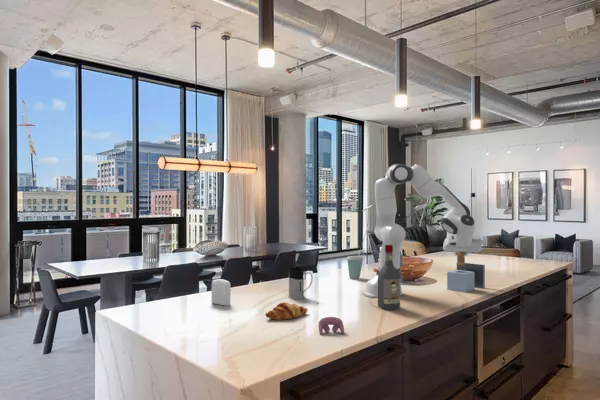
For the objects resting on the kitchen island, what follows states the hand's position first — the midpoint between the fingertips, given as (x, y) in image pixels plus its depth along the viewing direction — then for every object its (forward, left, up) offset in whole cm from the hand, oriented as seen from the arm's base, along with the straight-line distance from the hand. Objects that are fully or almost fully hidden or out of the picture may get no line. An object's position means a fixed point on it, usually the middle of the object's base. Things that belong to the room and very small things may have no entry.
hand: (460, 254), depth 247 cm
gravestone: (-135, +4, -21) cm, 137 cm away
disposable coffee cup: (-43, +51, -21) cm, 70 cm away
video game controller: (-98, -54, -21) cm, 114 cm away
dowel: (0, -1, -6) cm, 6 cm away
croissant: (-109, -28, -21) cm, 115 cm away
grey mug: (-93, +7, -21) cm, 96 cm away
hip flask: (-23, +38, -21) cm, 50 cm away
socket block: (0, -1, -20) cm, 20 cm away
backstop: (+3, +1, -20) cm, 21 cm away
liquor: (-58, -25, -21) cm, 67 cm away
